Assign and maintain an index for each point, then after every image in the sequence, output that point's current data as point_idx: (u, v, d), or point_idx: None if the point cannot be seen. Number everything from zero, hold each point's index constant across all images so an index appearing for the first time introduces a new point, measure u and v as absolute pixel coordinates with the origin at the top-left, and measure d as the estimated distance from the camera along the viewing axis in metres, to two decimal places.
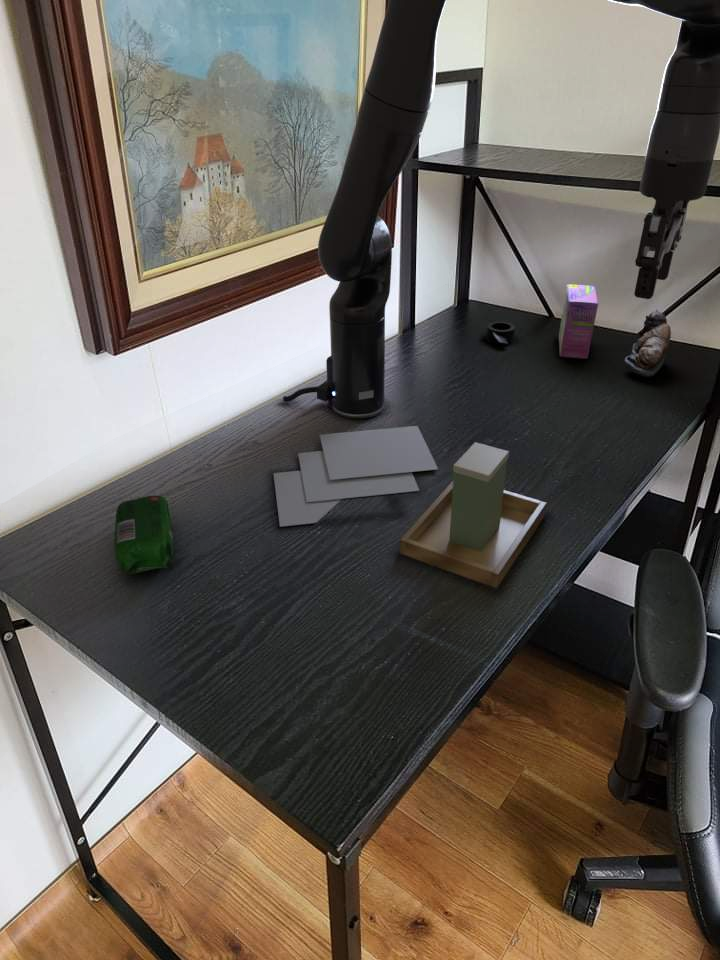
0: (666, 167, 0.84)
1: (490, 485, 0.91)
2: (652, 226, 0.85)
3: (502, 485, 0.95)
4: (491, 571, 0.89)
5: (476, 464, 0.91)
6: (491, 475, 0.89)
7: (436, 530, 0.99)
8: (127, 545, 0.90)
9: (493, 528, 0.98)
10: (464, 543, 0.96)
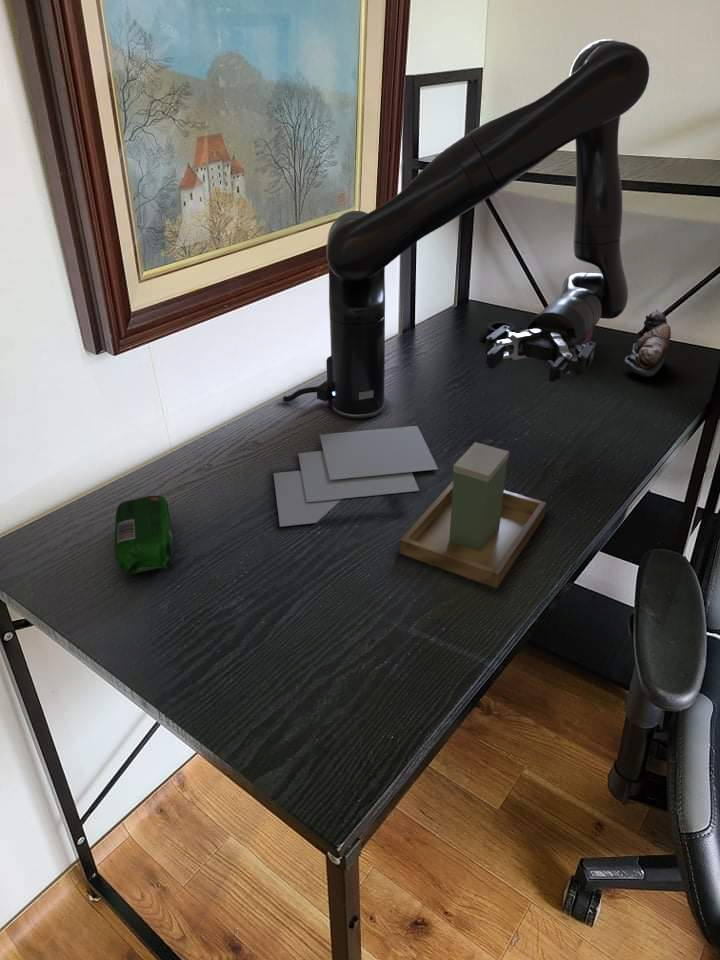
0: (584, 331, 1.05)
1: (490, 485, 0.91)
2: (593, 352, 0.99)
3: (502, 485, 0.95)
4: (491, 571, 0.89)
5: (476, 464, 0.91)
6: (491, 475, 0.89)
7: (436, 530, 0.99)
8: (127, 545, 0.90)
9: (493, 528, 0.98)
10: (464, 543, 0.96)
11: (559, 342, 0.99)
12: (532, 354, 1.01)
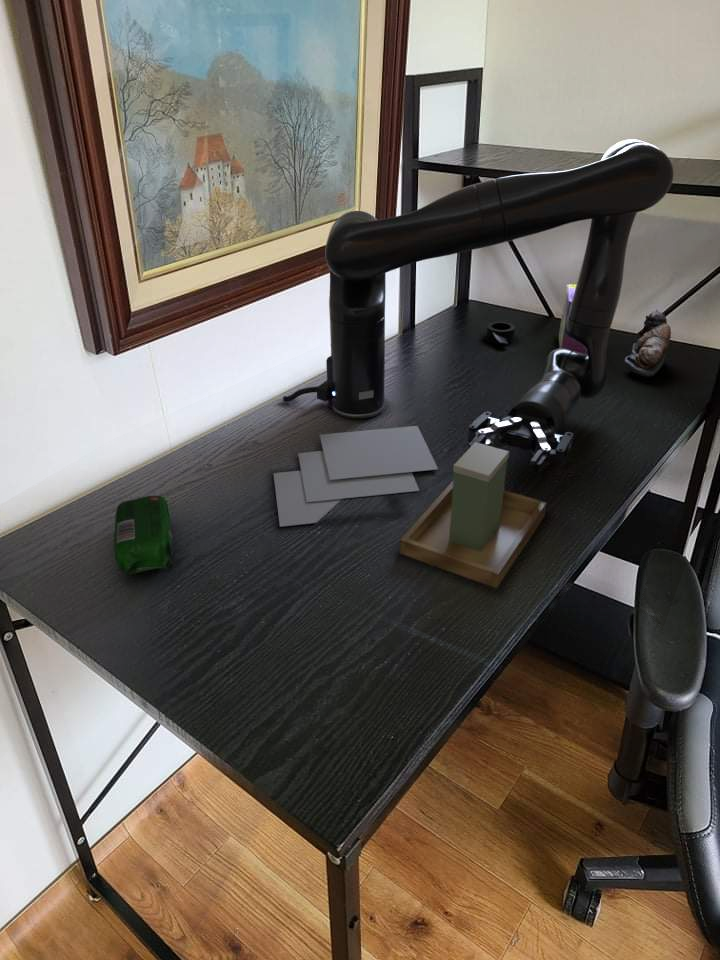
0: (563, 418, 1.09)
1: (490, 485, 0.91)
2: (571, 442, 1.03)
3: (502, 485, 0.95)
4: (491, 571, 0.89)
5: (476, 464, 0.91)
6: (491, 475, 0.89)
7: (436, 530, 0.99)
8: (126, 545, 0.90)
9: (493, 528, 0.98)
10: (464, 543, 0.96)
11: (538, 433, 1.03)
12: (513, 443, 1.05)
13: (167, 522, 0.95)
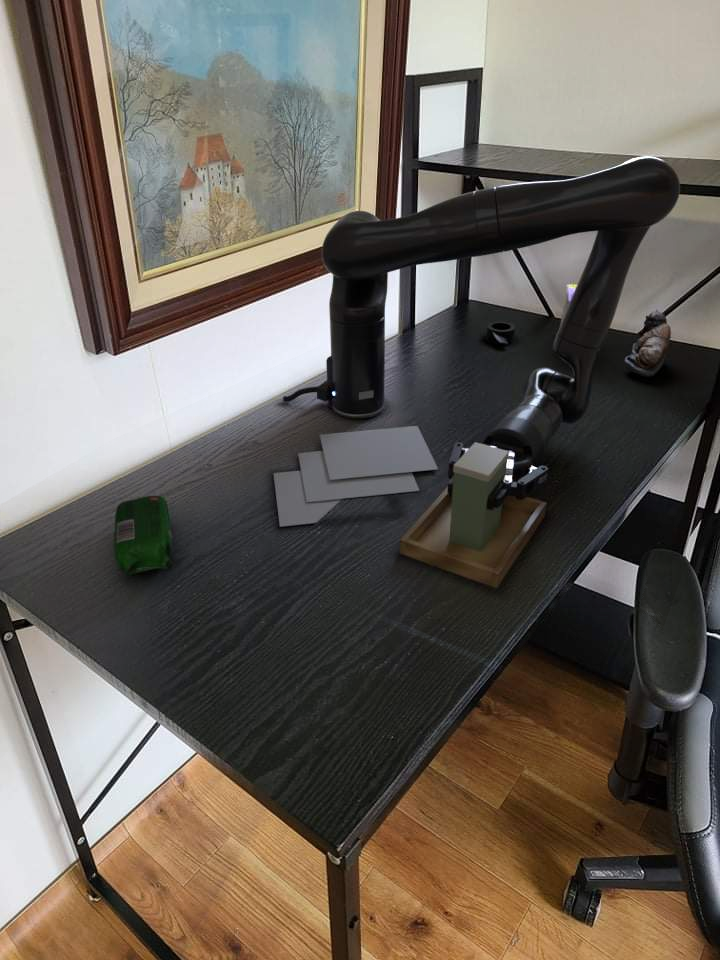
0: (541, 446, 1.02)
1: (490, 485, 0.91)
2: (543, 477, 0.96)
3: None
4: (491, 571, 0.89)
5: (476, 464, 0.91)
6: (491, 475, 0.89)
7: (436, 530, 0.99)
8: (126, 545, 0.90)
9: (493, 528, 0.98)
10: (464, 543, 0.96)
11: (507, 464, 0.96)
12: None
13: (167, 522, 0.95)
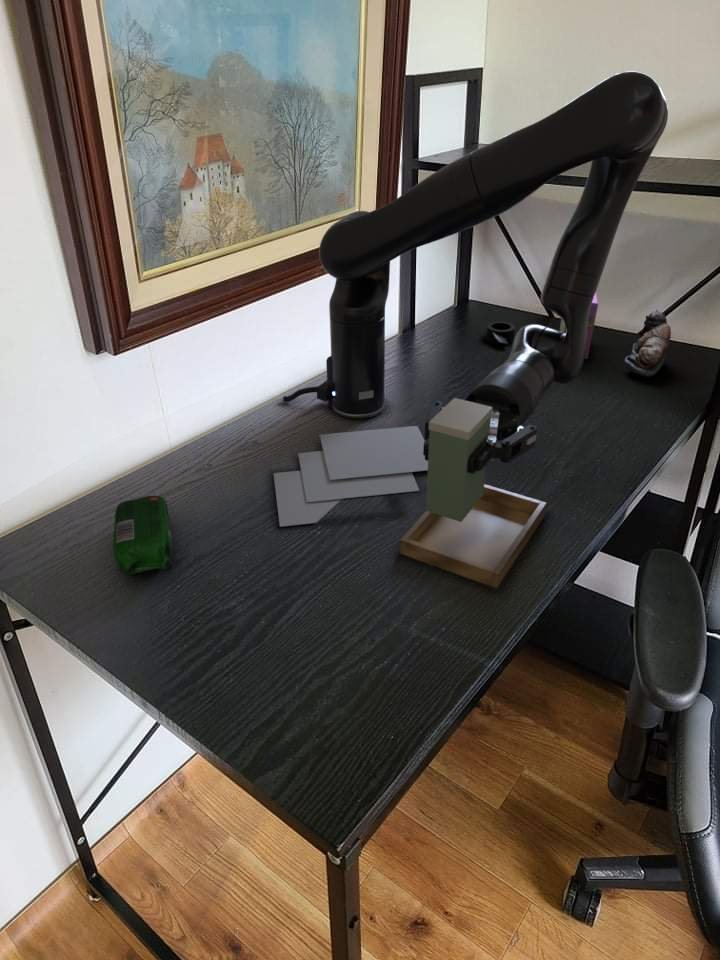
0: (530, 405, 0.91)
1: (470, 445, 0.79)
2: (532, 438, 0.85)
3: None
4: (491, 571, 0.89)
5: (454, 420, 0.80)
6: (472, 432, 0.78)
7: (436, 530, 0.99)
8: (126, 545, 0.90)
9: (475, 496, 0.86)
10: (442, 513, 0.85)
11: (491, 422, 0.85)
12: None
13: (166, 522, 0.95)
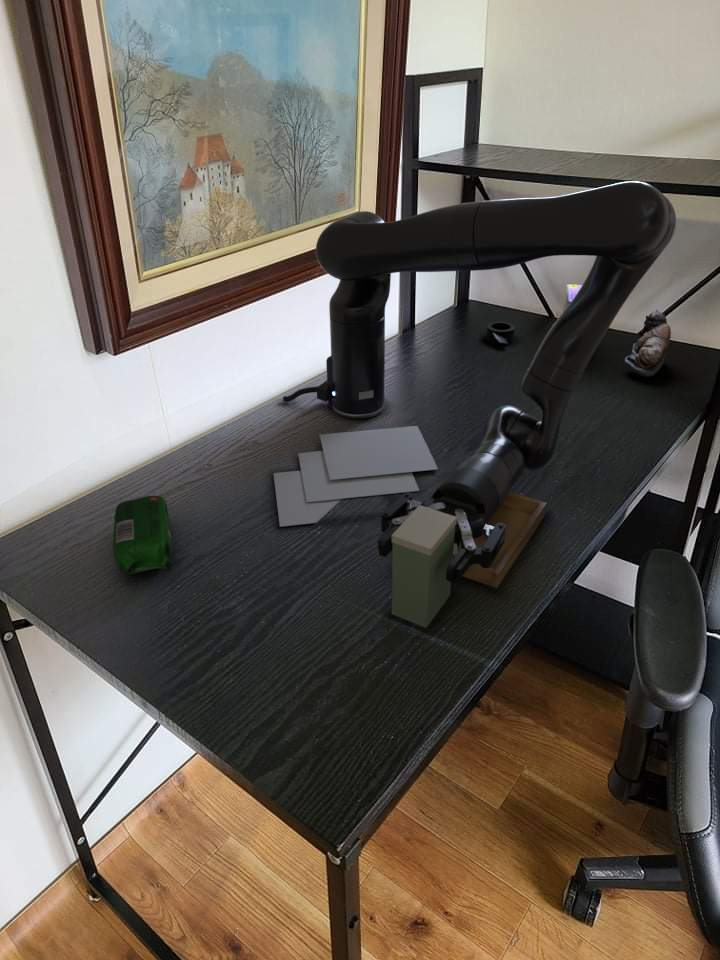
0: (497, 501, 0.91)
1: (433, 558, 0.79)
2: (503, 536, 0.85)
3: (450, 554, 0.84)
4: (491, 571, 0.89)
5: (417, 533, 0.80)
6: (434, 547, 0.78)
7: None
8: (125, 546, 0.90)
9: (441, 601, 0.86)
10: (407, 619, 0.85)
11: (463, 525, 0.85)
12: None
13: (166, 522, 0.95)
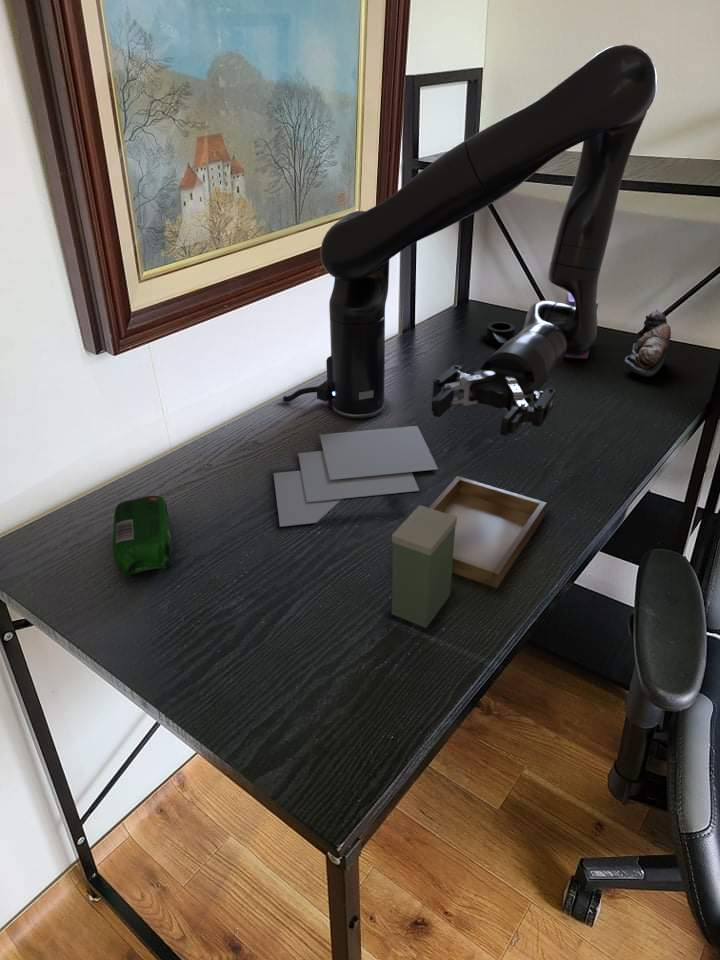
0: (544, 373, 0.93)
1: (433, 558, 0.79)
2: (553, 400, 0.88)
3: (450, 554, 0.84)
4: (491, 571, 0.89)
5: (417, 533, 0.80)
6: (434, 547, 0.78)
7: None
8: (125, 546, 0.90)
9: (441, 601, 0.86)
10: (407, 619, 0.85)
11: (514, 388, 0.87)
12: (484, 400, 0.89)
13: (166, 522, 0.95)
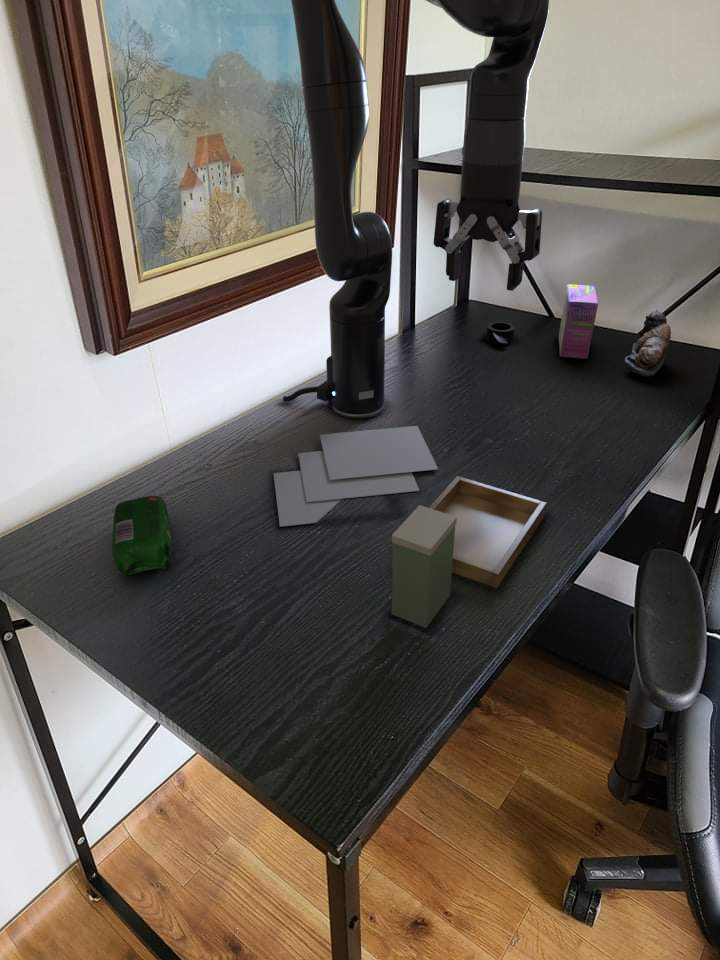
0: None
1: (433, 558, 0.79)
2: None
3: (450, 554, 0.84)
4: (491, 571, 0.89)
5: (417, 533, 0.80)
6: (434, 547, 0.78)
7: None
8: (125, 546, 0.90)
9: (441, 601, 0.86)
10: (407, 619, 0.85)
11: None
12: None
13: (165, 522, 0.95)
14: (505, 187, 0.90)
